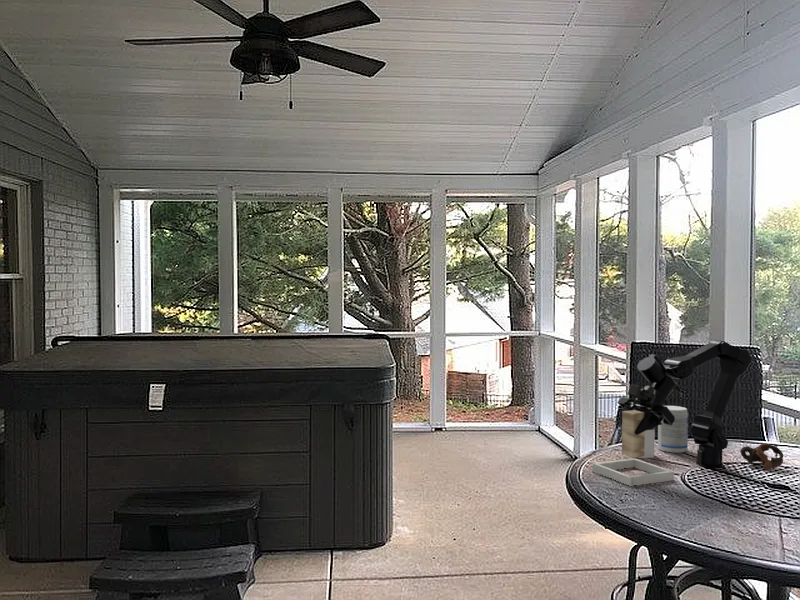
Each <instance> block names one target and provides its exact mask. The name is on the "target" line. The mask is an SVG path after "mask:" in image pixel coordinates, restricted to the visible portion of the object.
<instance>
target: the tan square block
mask: <svg viewBox="0 0 800 600" xmlns="http://www.w3.org/2000/svg"><path fill="white" fill-rule="evenodd" d="M621 412H622V414H621V415H622V419H621V420H622V421H621V422H622V423H621V426H622V427H621V455H622V456H625V457H629V458H630V459H633V458H635V459H637V457H643V456H644V445H645V431H644V432H642V433H640V434H638V435H636V434H635V430H636V428H637V427H638V425H639V424H640V422H641V421H642V419H643V418H644V412H640V411H635V410H631V411H624V410H622V411H621Z"/></svg>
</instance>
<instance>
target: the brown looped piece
mask: <svg viewBox="0 0 800 600" xmlns="http://www.w3.org/2000/svg"><path fill="white" fill-rule="evenodd" d="M770 449H771V450H772V453H774V454H777V455H779V457H771V459H769V458H768V457H769V456H768V455H767V454H766V453H765V452H767V451H769V450H770ZM739 452H740V454H741V457H742V458H743V459H744V460H746V461H747V463H748V464H750V463H751V464H752V463H757V462H759V463H762V464H764V465H763V466H762V468H763V470H765V471H770V470H771V469H774V468H777V467H779V466H781V465H782V464H783V463H784V453H783V451H782V450H781V449H779V448H778V447H777V446H775V445H773V444H769V443H761V444H759V445H758V446H756V447H754V448H753V447H750V446H747V445H746V446H743V447H741V449H740V451H739ZM746 453H748V454H746Z"/></svg>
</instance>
